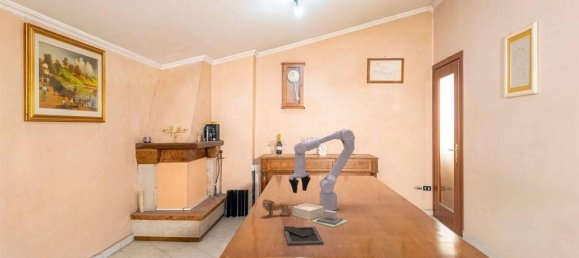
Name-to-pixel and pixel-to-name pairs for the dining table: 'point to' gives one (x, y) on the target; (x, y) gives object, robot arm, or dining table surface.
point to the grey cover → (330, 217)
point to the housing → (307, 211)
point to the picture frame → (302, 236)
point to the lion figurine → (275, 207)
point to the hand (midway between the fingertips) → (299, 191)
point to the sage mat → (331, 224)
